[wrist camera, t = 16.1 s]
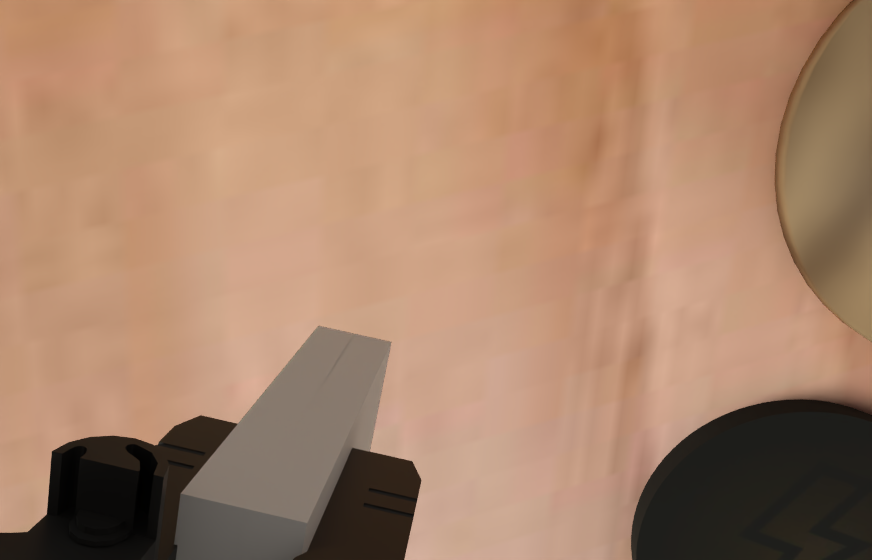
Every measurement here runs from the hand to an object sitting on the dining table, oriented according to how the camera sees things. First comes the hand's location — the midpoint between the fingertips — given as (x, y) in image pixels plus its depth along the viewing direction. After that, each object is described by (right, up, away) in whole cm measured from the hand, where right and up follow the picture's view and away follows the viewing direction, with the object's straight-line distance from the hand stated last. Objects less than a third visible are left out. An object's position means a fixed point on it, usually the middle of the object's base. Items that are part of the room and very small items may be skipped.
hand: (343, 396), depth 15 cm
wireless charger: (+22, -13, +29) cm, 39 cm away
